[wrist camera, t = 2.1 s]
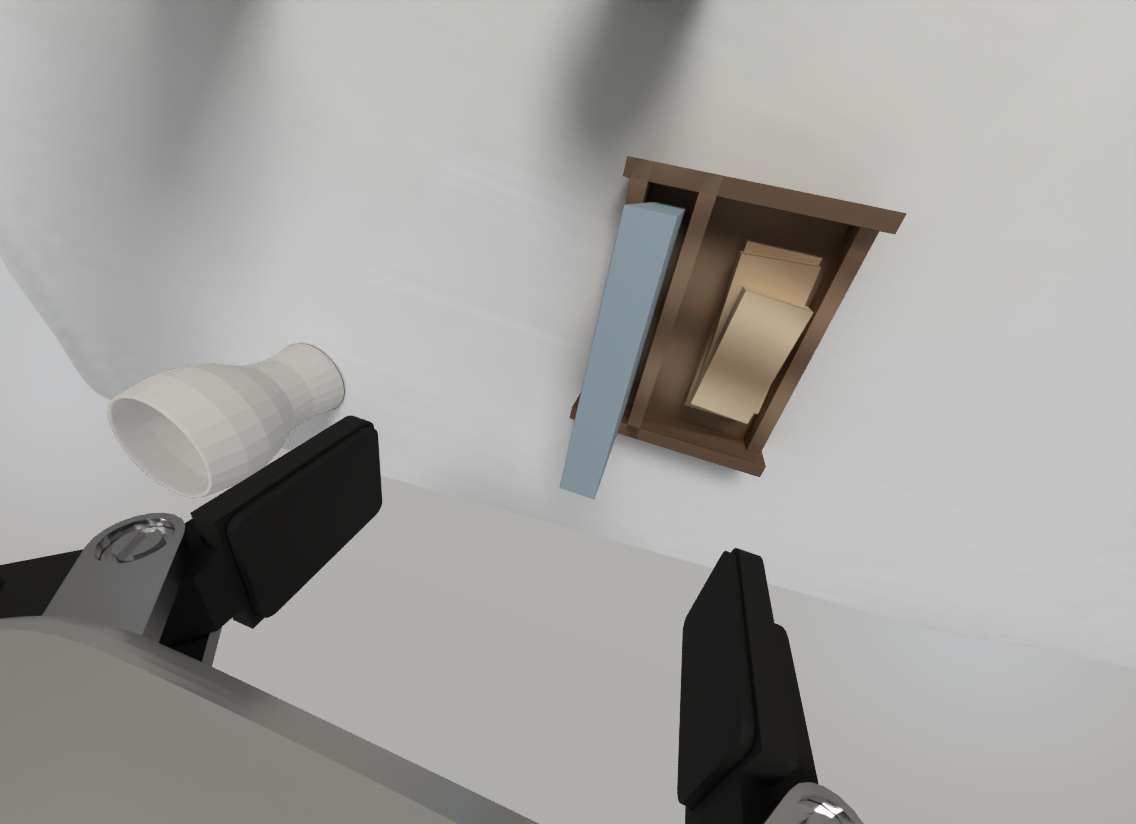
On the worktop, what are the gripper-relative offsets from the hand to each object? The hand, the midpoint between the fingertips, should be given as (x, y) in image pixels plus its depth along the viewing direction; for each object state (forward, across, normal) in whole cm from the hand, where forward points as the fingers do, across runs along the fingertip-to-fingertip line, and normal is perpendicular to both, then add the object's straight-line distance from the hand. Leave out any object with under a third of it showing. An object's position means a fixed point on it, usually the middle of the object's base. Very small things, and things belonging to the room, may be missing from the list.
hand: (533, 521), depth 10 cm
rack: (+24, -4, 0) cm, 25 cm away
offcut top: (+20, -8, 0) cm, 22 cm away
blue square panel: (+23, 0, 0) cm, 23 cm away
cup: (+24, +32, +16) cm, 44 cm away
